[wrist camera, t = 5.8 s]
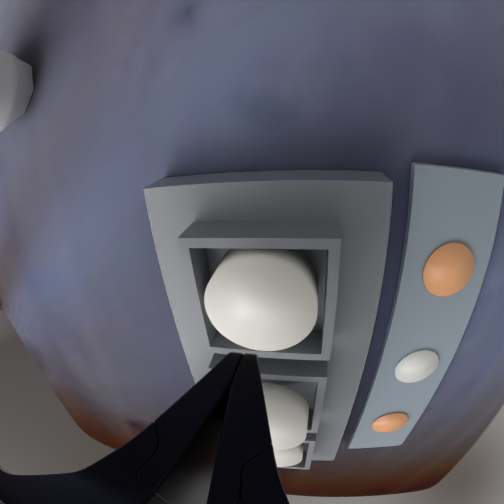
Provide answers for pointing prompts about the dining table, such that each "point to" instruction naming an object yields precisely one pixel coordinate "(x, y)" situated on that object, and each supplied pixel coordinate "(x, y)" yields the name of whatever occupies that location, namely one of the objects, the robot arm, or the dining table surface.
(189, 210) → the button board
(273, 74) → the dining table surface
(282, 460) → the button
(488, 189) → the pattern card
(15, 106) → the salt shaker
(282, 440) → the button middle
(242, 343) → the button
